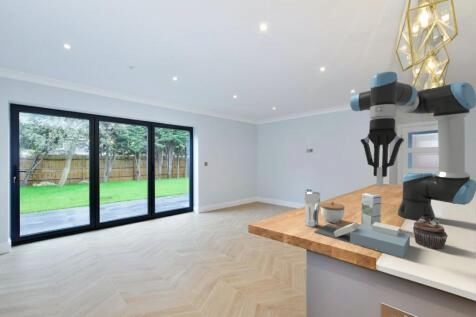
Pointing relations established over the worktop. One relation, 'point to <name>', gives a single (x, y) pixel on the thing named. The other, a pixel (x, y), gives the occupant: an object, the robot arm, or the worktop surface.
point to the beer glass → (312, 208)
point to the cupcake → (429, 233)
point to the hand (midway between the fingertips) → (379, 185)
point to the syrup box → (371, 209)
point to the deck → (381, 240)
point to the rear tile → (386, 228)
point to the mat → (329, 230)
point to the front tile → (346, 229)
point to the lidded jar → (332, 212)
